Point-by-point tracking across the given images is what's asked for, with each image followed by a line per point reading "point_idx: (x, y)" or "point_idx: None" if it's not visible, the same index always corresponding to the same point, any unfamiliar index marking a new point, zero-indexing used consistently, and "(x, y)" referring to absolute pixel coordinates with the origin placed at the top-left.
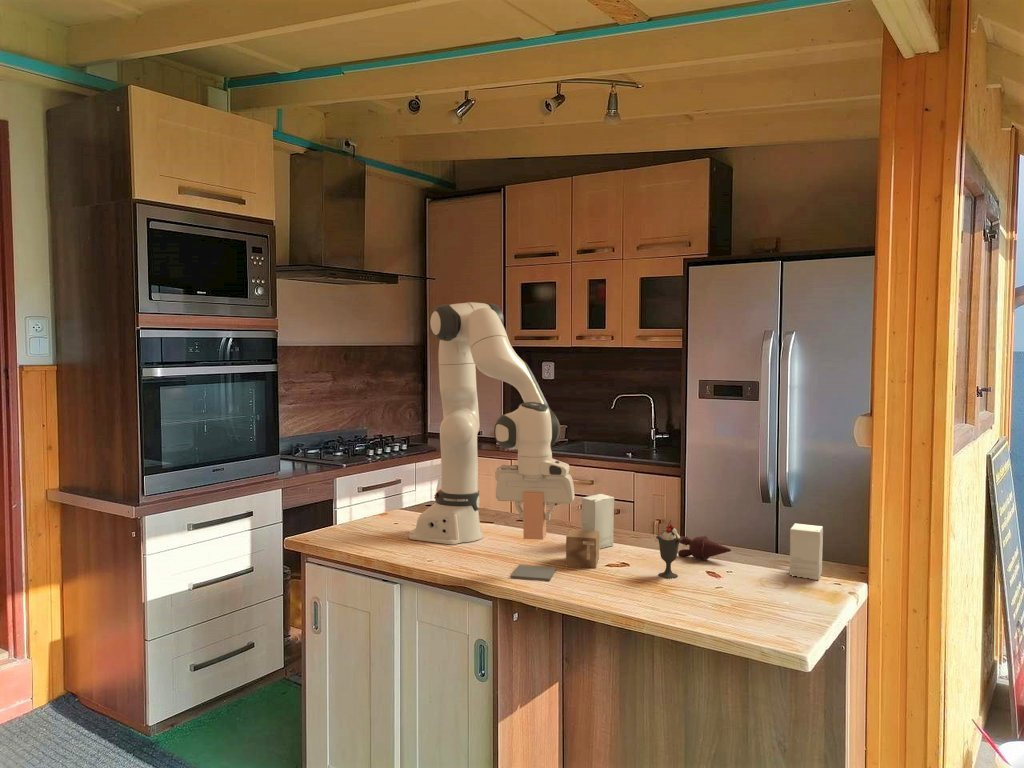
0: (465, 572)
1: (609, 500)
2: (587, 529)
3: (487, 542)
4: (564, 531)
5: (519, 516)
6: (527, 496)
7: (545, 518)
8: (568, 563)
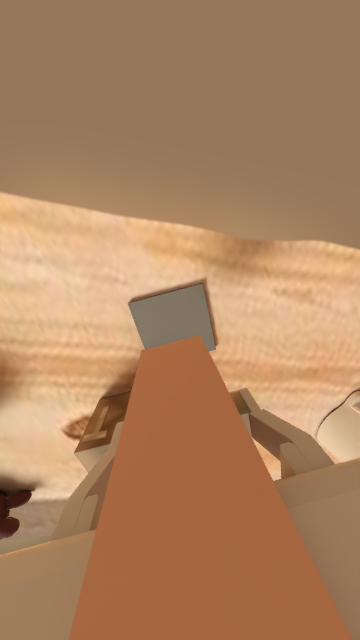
0: (293, 272)
1: None
2: None
3: (303, 424)
4: None
5: (249, 393)
6: (259, 570)
7: None
8: None
